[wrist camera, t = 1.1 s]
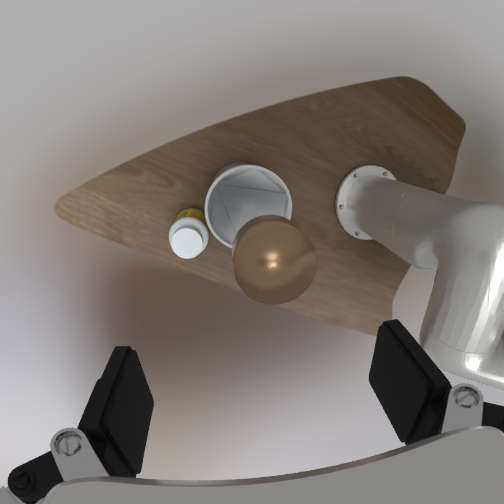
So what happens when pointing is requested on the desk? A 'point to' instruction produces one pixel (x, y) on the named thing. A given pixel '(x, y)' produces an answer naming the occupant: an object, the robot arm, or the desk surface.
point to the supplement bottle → (189, 233)
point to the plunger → (273, 259)
